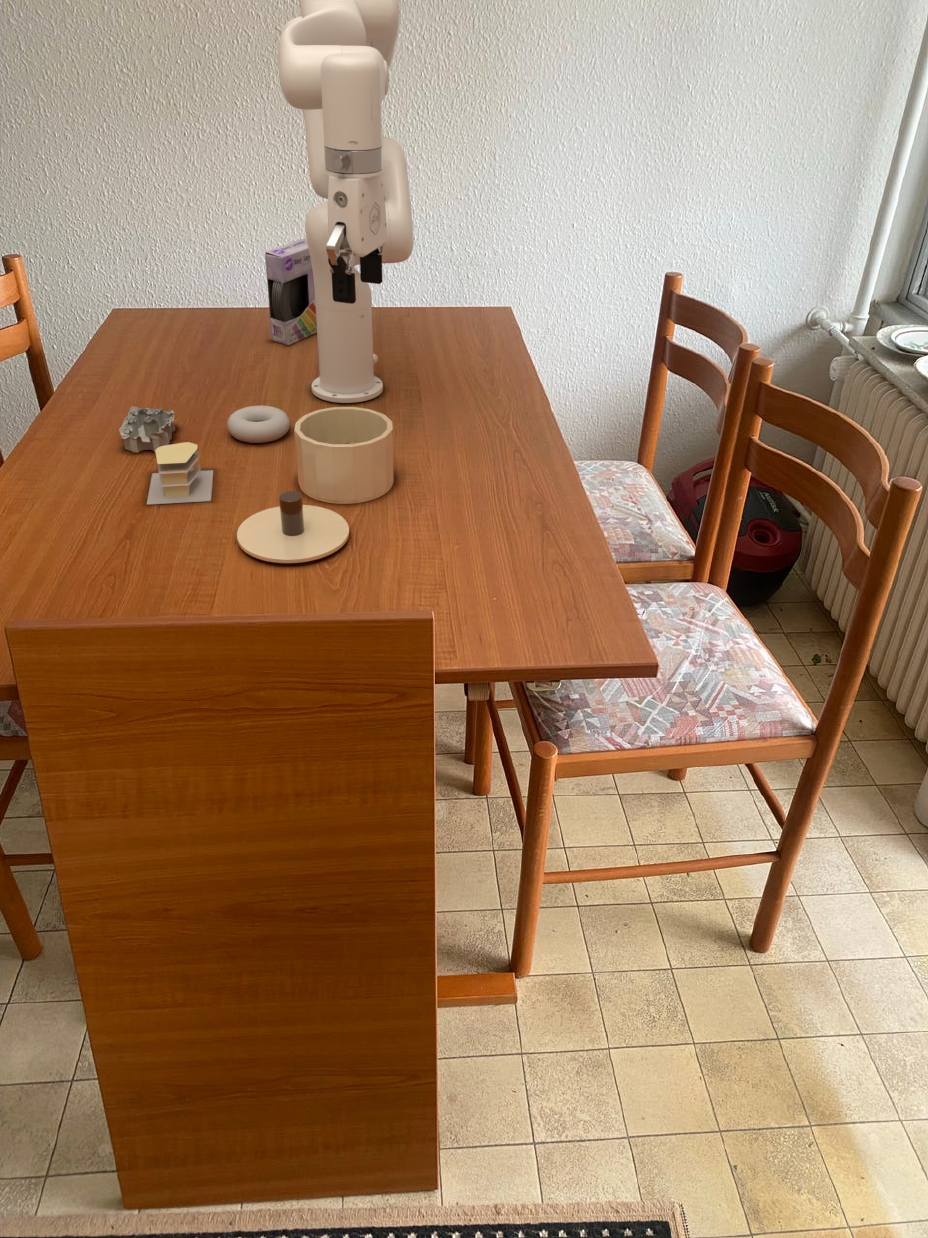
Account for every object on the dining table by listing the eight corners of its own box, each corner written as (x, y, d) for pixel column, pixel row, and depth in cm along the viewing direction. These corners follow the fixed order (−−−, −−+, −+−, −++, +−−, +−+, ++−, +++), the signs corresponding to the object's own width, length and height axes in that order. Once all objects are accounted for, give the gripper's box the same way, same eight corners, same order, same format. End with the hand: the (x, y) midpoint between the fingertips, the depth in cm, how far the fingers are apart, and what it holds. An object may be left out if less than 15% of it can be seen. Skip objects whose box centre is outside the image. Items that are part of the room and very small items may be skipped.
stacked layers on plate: (210, 501, 148) (206, 466, 145) (146, 504, 147) (140, 469, 144) (213, 470, 156) (209, 436, 153) (152, 473, 155) (146, 439, 152)
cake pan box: (285, 348, 201) (278, 254, 191) (266, 342, 203) (258, 250, 193) (347, 322, 214) (343, 233, 204) (328, 317, 217) (324, 229, 207)
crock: (322, 455, 162) (319, 401, 156) (406, 469, 158) (406, 414, 153) (282, 494, 151) (278, 437, 145) (372, 510, 147) (370, 452, 142)
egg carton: (168, 454, 161) (164, 429, 159) (119, 453, 161) (114, 429, 158) (180, 425, 170) (177, 401, 167) (134, 425, 169) (130, 401, 167)
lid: (269, 504, 148) (265, 464, 144) (366, 522, 144) (364, 481, 141) (216, 555, 136) (211, 512, 132) (321, 575, 132) (318, 532, 129)
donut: (220, 428, 170) (239, 450, 162) (218, 408, 168) (236, 430, 160) (279, 418, 174) (299, 439, 166) (277, 398, 172) (297, 419, 164)
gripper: (354, 175, 128) (359, 313, 137) (403, 151, 141) (405, 278, 151) (298, 170, 130) (307, 306, 139) (353, 147, 143) (357, 272, 153)
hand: (358, 291), depth 145 cm, fingers open, 9 cm apart
